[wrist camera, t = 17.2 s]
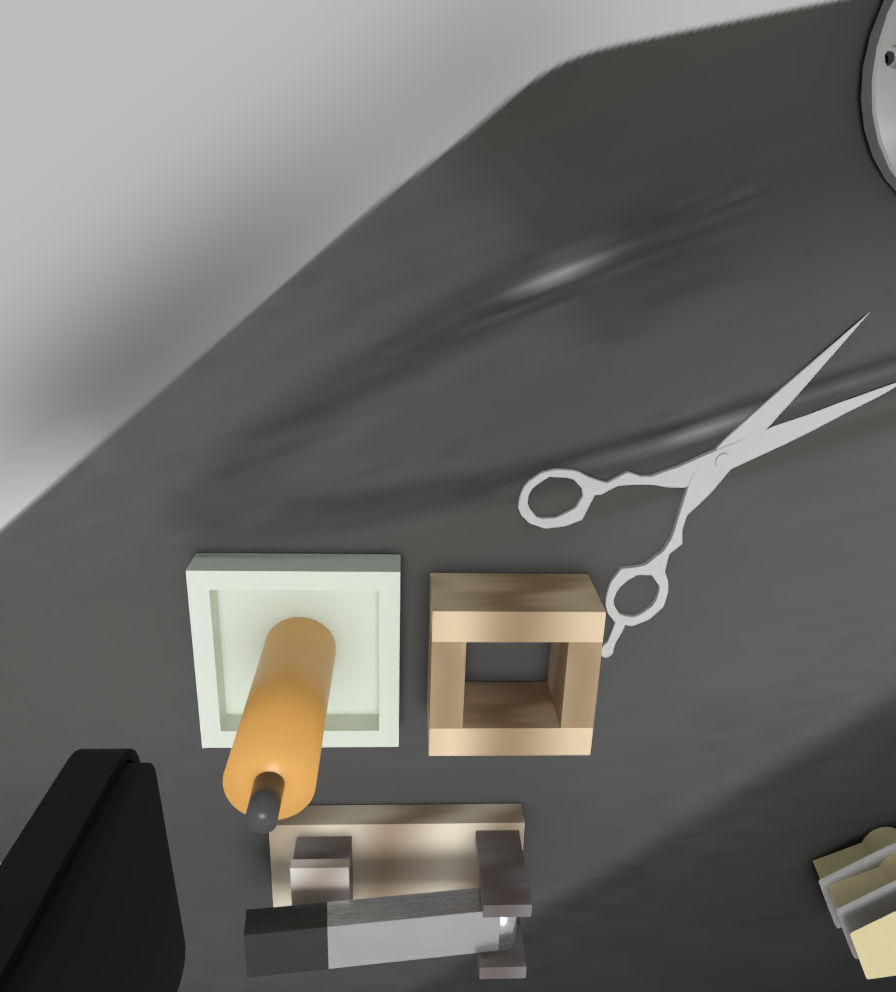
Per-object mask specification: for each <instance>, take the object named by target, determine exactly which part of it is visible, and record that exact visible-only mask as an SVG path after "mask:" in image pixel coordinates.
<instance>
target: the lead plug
mask: <svg viewBox="0 0 896 992" xmlns="http://www.w3.org/2000/svg"><path fill="white" fill-rule="evenodd" d="M335 655H336V644H335V640H334V638H333V636H332V634H331V632H330V631H329V630H328V629H327V628H326V627H325V626H324V625H322V624H321V623H319V622H317V621H315V620H313V619H309V618H304V617H294V618H289V619H286V620H283V621H281V622H279V623H278V624H276V625H275V626H274V627H273V628H272V629H271V630H270V632H269V633H268V635H267V637H266V640H265V643H264V647H263V650H262V653H261V656H260V660H259V663H258V666H257V669H256V672H255V676H254V679H253V682H252V685H251V688H250V692H249V695H248V698H247V701H246V704H245V708H244V711H243V714H242V717H241V720H240V724H239V727H238V730H237V733H236V736H235V740H234V743H233V746H232V749H231V753H230V756H229V759H228V762H227V765H226V769H225V772H224V775H223V788H224V792H225V795H226V796H227V798H228V800H229V801H230V803H231V804H232V805H233V806H234V807H235V808H236V809H238V810H239V811H241V812H242V813H244V814H246V815H245V819H244V823H245V825H246V827H247V828H248V829H249V830H250V831H251V832H253V833H257V834H266V833H269V832H271V831H273V830H274V829H275V827H276V825H277V821H278V820H280V819H285V818H288V817H291V816H293V815H295V814H297V813H299V812H300V811H302V810H303V809H304V808H305V807H306V806H307V805H308V804H309V803H310V801H311V800H312V798H313V795H314V793H315V788H316V781H317V775H318V768H319V761H320V755H321V748H322V741H323V735H324V728H325V721H326V715H327V708H328V701H329V695H330V688H331V682H332V675H333V668H334V662H335Z"/></svg>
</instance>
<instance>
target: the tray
mask: <svg viewBox="0 0 896 992" xmlns="http://www.w3.org/2000/svg"><path fill="white" fill-rule="evenodd" d="M400 568H401V554H280V553H196V554H195V556H194V558H193V559H192V561H191V563H190V564H189V566H188V568H187V570H186V578H187V589H188V600H189V610H190V621H191V632H192V643H193V653H194V664H195V675H196V686H197V696H198V707H199V718H200V729H201V739H202V748H232V746H233V743H234V740H235V736H236V733H237V730H238V727H239V724H240V720H241V717H242V714H243V711H244V708H245V704H246V701H247V698H248V695H249V692H250V688H251V685H252V682H253V679H254V676H255V672H256V669H257V666H258V663H259V660H260V656H261V653H262V650H263V647H264V643H265V640H266V637H267V635H268V633H269V632H270V630H271V629H272V628H273V627H274V626H275V625H276V624H278V623H279V622H281V621H283V620H286V619H289V618H294V617H304V618H309V619H313V620H315V621H317V622H319V623H321V624H322V625H324V626H325V627H326V628H327V629H328V630H329V631H330V632H331V634H332V636H333V638H334V640H335V644H336V655H335V662H334V668H333V675H332V682H331V688H330V695H329V701H328V708H327V715H326V721H325V728H324V735H323V741H322V747H399V666H400Z"/></svg>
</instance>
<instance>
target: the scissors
mask: <svg viewBox="0 0 896 992" xmlns="http://www.w3.org/2000/svg"><path fill="white" fill-rule="evenodd" d="M869 313H870V312H869ZM869 313H868V314H869ZM868 314H867V315H868ZM867 315H866V316H867ZM866 316H865V317H866ZM865 317H863V318H862V319H861V320H860V321H859V322H858V323H856V324H855V325H854V326H853V327H852V328H850V329H849V330H848V331H847V332H846V333H845V334H843V335H842V336H841V337H840V338H839V339H838V340H836V341H835V342H834V343H833V344H832V345H830V346H829V347H828V348H827V349H826V350H825V351H823V352H822V353H821V354H820V355H819V356H818V357H816V358H815V359H814V360H813V361H812V362H811V363H809V364H808V365H807V366H806V367H805V368H803V369H802V370H801V371H800V372H799V373H798V374H796V375H795V376H794V377H793V378H792V379H791V380H789V381H788V382H787V383H786V384H785V385H784V386H782V387H781V388H780V389H779V390H778V391H777V392H776V393H774V394H773V395H772V396H771V397H770V398H769V399H767V400H766V401H765V402H764V403H763V404H762V405H761V406H760V407H759V408H757V409H756V410H755V411H754V412H753V413H752V414H751V415H750V416H749V417H748V418H746V419H745V420H744V421H743V422H742V423H741V424H740V425H739V426H738V427H737V428H735V429H734V430H733V431H732V432H731V433H730V434H729V435H728V436H727V437H726V438H724V439H723V440H722V441H721V442H720V443H719V444H718V445H717V446H716V447H715V448H714V449H713V450H710V451H708V452H705V453H703V454H700V455H698V456H696V457H694V458H691V459H689V460H687V461H685V462H683V463H680V464H678V465H676V466H673V467H670V468H667V469H664V470H661V471H659V472H656V473H654V474H651V475H638V474H635V473H632V472H630V471H625V472H623V473H621V474H619V475H617V476H615V477H613V478H611V479H609V480H607V481H603V480H599V479H596V478H593V477H591V476H588V475H586V474H584V473H582V472H580V471H578V470H575V469H568V468H551V469H548V470H544V471H541V472H539V473H538V474H536V475H535V476H533V477H532V478H530V479H529V480H528V481H527V482H526V483H525V485H524V486H523V487H522V490H521V492H520V495H519V500H518V508H519V511H520V513H521V515H522V516H523V517H524V518H525V519H526V520H527V521H528V522H529V523H530V524H533V525H536V526H539V527H542V528H545V529H546V528H554V527H562V526H567V525H569V524H572V523H575V522H577V521H580V520H582V519H583V517H584V515H585V513H586V511H587V509H588V507H589V505H590V503H591V501H592V499H593V497H594V495H601V494H604V493H605V492H607V491H609V490H611V489H612V488H614V487H616V486H621V485H658V486H663V487H678V488H685V490H684V493H683V496H682V499H681V502H680V506H679V509H678V512H677V515H676V519H675V523H674V526H673V529H672V532H671V534H670V537H669V538H668V540H667V541H666V543H665V545H664V546H663V548H662V549H661V550H660V551H658V552H657V553H656V554H655V555H653V556H652V557H651V558H650V559H648V560H647V561H646V562H645V563H641V564H637V565H630V566H621V567H620V568H619V569H618V570H617V571H616V573H615V574H614V575H613V576H612V578H611V579H610V581H609V584H608V587H607V590H606V594H605V602H604V603H605V607H606V610H607V612H608V614H609V615H610V616H611V618H612V619H613V620H614V622H613V625H612V628H611V630H610V633H609V635H608V638H607V640H606V641H605V642H603V644H602V652H601V655H602V656H603V657H606V658H608V657H609V656H610V655H612V654H613V650H614V646H615V643H616V641H617V639H618V638H619V636H620V635H621V633H622V631H623V629H624V626H625V625H629V626H634V625H637V624H639V623H642V622H644V621H647V620H649V619H650V618H651V617H653V616H654V615H655V614H656V613H657V612H658V611H659V610H660V609H661V608H663V606H664V603H665V600H666V597H667V593H668V580H667V577H666V574H665V568H666V564H667V560H668V556H669V554H670V553H671V552H672V551H674V550H675V549H676V548H678V547H679V546H680V545H681V544H682V529H683V526H684V523H685V520H686V517H687V515H688V514H689V513H690V512H691V511H692V510H693V509H694V508H695V507H697V506H698V505H699V504H700V503H701V502H702V501H703V500H704V499H705V498H706V497H707V496H708V495H709V494H710V493H711V492H712V491H713V490H714V489H715V488H716V486H717V485H718V484H719V483H720V482H721V480H722V479H723V478H724V477H725V476H726V474H727V473H728V472H729V471H730V469H732V468H734V467H736V466H739V465H741V464H743V463H745V462H747V461H749V460H752V459H754V458H756V457H758V456H760V455H762V454H765V453H767V452H769V451H771V450H773V449H775V448H778V447H780V446H782V445H784V444H786V443H788V442H790V441H792V440H794V439H796V438H798V437H800V436H802V435H804V434H806V433H808V432H810V431H812V430H814V429H816V428H818V427H820V426H822V425H824V424H826V423H828V422H830V421H832V420H833V419H835V418H837V417H839V416H841V415H843V414H845V413H847V412H849V411H851V410H853V409H855V408H857V407H859V406H861V405H863V404H865V403H867V402H869V401H871V400H873V399H875V398H877V397H879V396H881V395H882V394H884V393H886V392H887V391H889V390H891V389H893V388H894V387H896V383H894V384H891V385H888V386H885V387H882V388H880V389H877V390H874V391H871V392H868V393H866V394H863V395H860V396H857V397H854V398H851V399H849V400H846V401H843V402H840V403H837V404H835V405H832V406H829V407H827V408H824V409H822V410H819V411H816V412H814V413H811V414H809V415H806V416H803V417H800V418H797V419H794V420H791V421H788V422H785V423H782V424H779V425H776V426H773V427H771V428H769V429H767V428H768V427H769V426H770V425H771V424H772V423H773V421H774V420H775V419H776V418H777V417H778V416H779V415H780V414H781V413H782V412H783V410H784V409H785V408H786V407H787V406H788V405H789V404H790V403H791V402H792V400H793V399H794V398H795V397H796V396H797V395H798V394H799V393H800V392H801V390H802V389H803V388H804V387H805V386H806V385H807V384H808V382H809V381H810V380H811V379H812V378H813V377H814V376H815V374H816V373H817V372H818V371H819V370H820V369H821V368H822V366H823V365H824V364H825V363H826V362H827V361H828V360H829V358H830V357H831V356H832V355H833V354H834V353H835V352H836V350H837V349H838V348H839V347H840V346H841V345H842V344H843V342H844V341H845V340H846V339H847V338H848V337H849V336H850V334H851V333H852V332H853V331H854V330H855V329H856V327H857V326H858V325H859V324H860V323H861V322H862V321H863V319H864V318H865ZM766 429H767V430H766ZM548 477H564V478H570V479H574V480H575V481H576V482H577V483H578V485H579V486H580V487H581V490H582V495H581V497H580V498H579V500H578V502H577V504H576V505H575V507H573V508H571V509H569V510H567V511H565V512H563V513H561V514H559V515H557V516H550V517H539V516H536V515H535V514H534V513H533V511H532V510H531V509H530V507H529V505H528V496H529V494H530V492H531V490H532V489H533V487H535V486H536V485H537V484H539V483H540V482H542V481H543V480H545V479H547V478H548ZM636 575H652V576H653V578H654V579H655V581H656V582H657V583H658V589H657V593H656V596H655V598H654V600H653V601H652V603H651V604H650V605H649V606H647V607H646V608H645V609H643V610H642V611H640V612H638V613H636V614H634V615H633V614H623V613H620V612H618V610H617V609H616V607H615V606H614V597H615V595H616V592H617V590H618V589H619V588H620V587H621V586H622V585H623V584H624V583H625V582H626V581H627V580H629V579H631V578H633V577H635V576H636Z"/></svg>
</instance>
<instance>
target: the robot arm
mask: <svg viewBox="0 0 896 992" xmlns="http://www.w3.org/2000/svg"><path fill="white" fill-rule="evenodd" d="M885 54H887V55H888V63H887V64H886V63H885ZM861 105H862V114H863V123H864V130H865V134H866V137H867V140H868V143H869V146H870V150H871V153H872V156H873V158H874V160H875V162H876V164H877V165H878V167H879V169H880V171H881V172H882V174H883V176H884V178H885V180H886V181H887V182H888V183H889V184H890V185H891V187H892V188H893V189H894V190H895V191H896V0H884V1H883V4H882V6H881V9H880V11H879V14H878V16H877V19H876V21H875V24H874V26H873V29H872V32H871V34H870V38H869V43H868V47H867V51H866V56H865V60H864V65H863V73H862V89H861ZM184 960H185V939H184V933H183V928H182V922H181V916H180V910H179V904H178V898H177V893H176V887H175V881H174V875H173V869H172V863H171V858H170V852H169V846H168V840H167V834H166V828H165V823H164V817H163V811H162V805H161V799H160V794H159V788H158V782H157V776H156V771H155V768H154V766H153V765H152V764H151V763H140V760H139V757H138V754H137V753H136V751H135V750H133V749H79V750H77V751H75V752H74V753H73V754H72V755H71V757H70V758H69V759H68V761H67V762H66V764H65V765H64V767H63V768H62V770H61V772H60V773H59V775H58V776H57V778H56V779H55V781H54V782H53V784H52V786H51V787H50V789H49V790H48V792H47V793H46V795H45V796H44V798H43V800H42V801H41V803H40V804H39V806H38V807H37V809H36V810H35V812H34V814H33V815H32V817H31V818H30V820H29V821H28V823H27V825H26V826H25V828H24V829H23V831H22V832H21V834H20V835H19V837H18V839H17V840H16V842H15V843H14V845H13V846H12V848H11V849H10V851H9V853H8V854H7V856H6V857H5V859H4V860H3V862H2V863H1V865H0V992H177V991H178V987H179V984H180V981H181V977H182V973H183V968H184Z"/></svg>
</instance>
